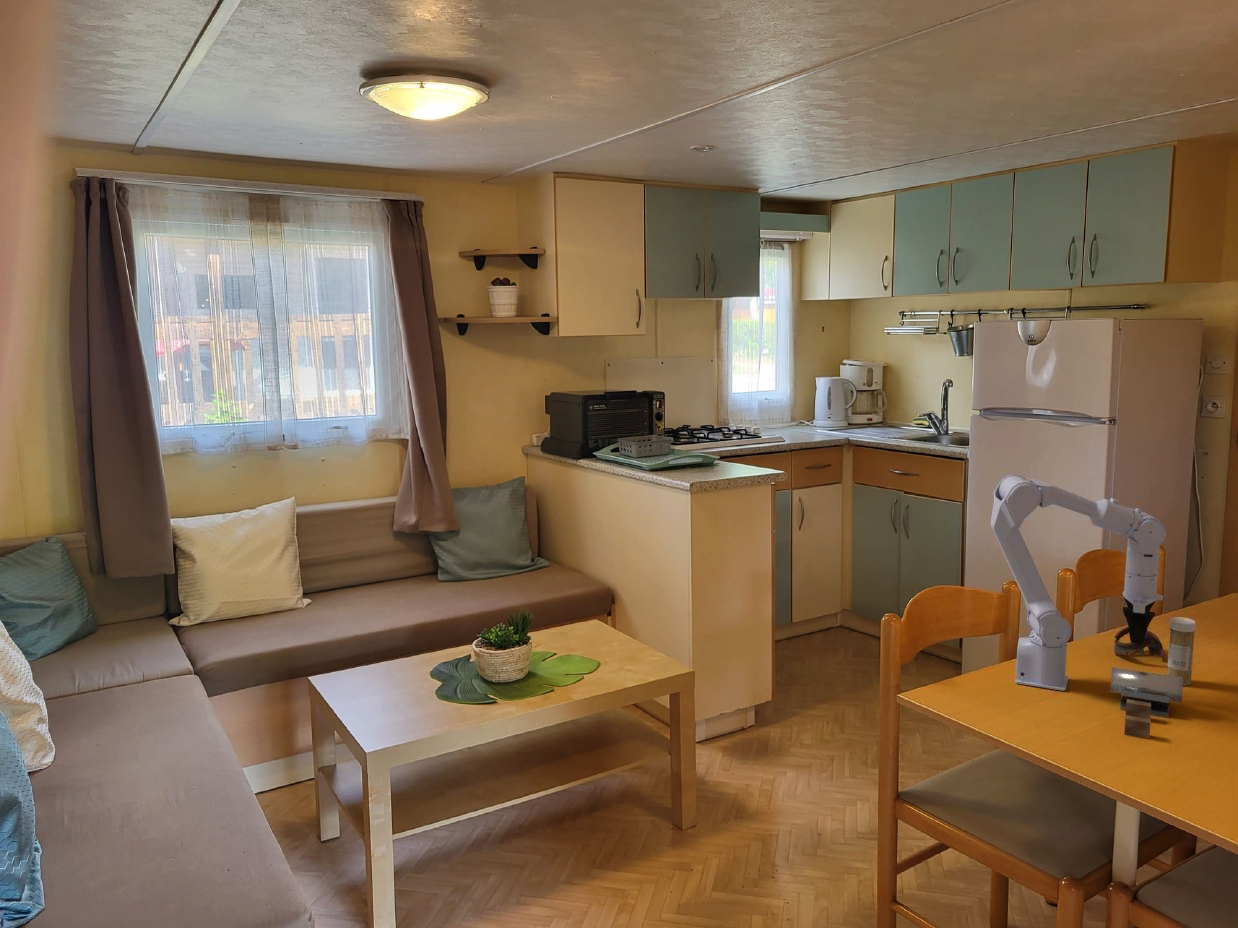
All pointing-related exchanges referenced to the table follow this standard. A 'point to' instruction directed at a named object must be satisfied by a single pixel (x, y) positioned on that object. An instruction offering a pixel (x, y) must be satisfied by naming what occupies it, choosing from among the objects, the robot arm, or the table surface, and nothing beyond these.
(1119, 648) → the dark looped band
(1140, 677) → the axle
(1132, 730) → the blocks
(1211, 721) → the table surface
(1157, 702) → the v block
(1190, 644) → the sprinkles bottle
